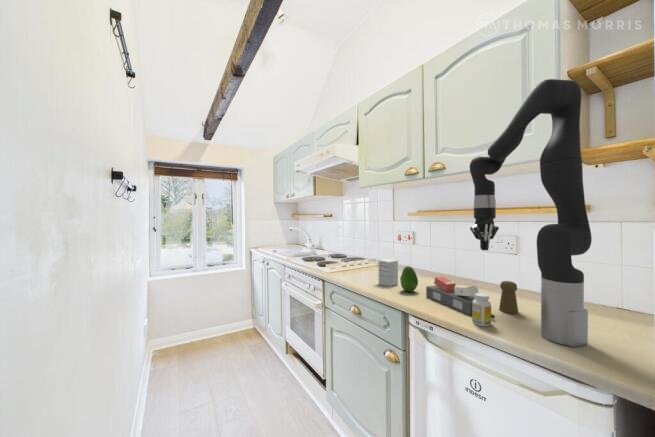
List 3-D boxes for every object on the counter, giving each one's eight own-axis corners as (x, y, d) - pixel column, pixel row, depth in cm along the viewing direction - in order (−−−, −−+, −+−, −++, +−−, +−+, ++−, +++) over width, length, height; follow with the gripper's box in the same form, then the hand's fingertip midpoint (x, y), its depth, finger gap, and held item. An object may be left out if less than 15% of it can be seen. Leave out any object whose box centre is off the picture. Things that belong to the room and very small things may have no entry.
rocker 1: (454, 290, 109) (456, 283, 109) (445, 291, 108) (446, 284, 107) (442, 282, 116) (443, 276, 115) (433, 283, 114) (434, 277, 114)
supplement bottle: (473, 325, 87) (473, 296, 86) (471, 319, 91) (471, 291, 91) (492, 328, 84) (492, 297, 84) (489, 321, 89) (489, 293, 89)
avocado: (397, 291, 124) (397, 266, 124) (404, 288, 130) (404, 263, 130) (414, 295, 119) (414, 268, 119) (420, 291, 125) (420, 265, 125)
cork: (499, 312, 98) (499, 282, 97) (498, 307, 103) (498, 279, 103) (519, 315, 95) (519, 284, 95) (517, 309, 100) (517, 280, 100)
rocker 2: (479, 294, 98) (477, 286, 99) (469, 296, 97) (467, 287, 97) (464, 293, 105) (462, 285, 105) (454, 294, 103) (453, 286, 104)
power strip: (502, 318, 92) (502, 305, 92) (484, 322, 89) (484, 308, 89) (441, 295, 119) (441, 284, 119) (426, 296, 116) (426, 286, 116)
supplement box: (386, 281, 144) (386, 258, 143) (398, 284, 138) (398, 260, 138) (378, 284, 139) (377, 259, 139) (389, 286, 133) (389, 261, 133)
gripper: (479, 206, 100) (480, 252, 101) (505, 206, 105) (505, 250, 105) (463, 207, 108) (464, 249, 108) (488, 207, 112) (488, 248, 112)
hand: (484, 250), depth 106 cm, fingers closed
